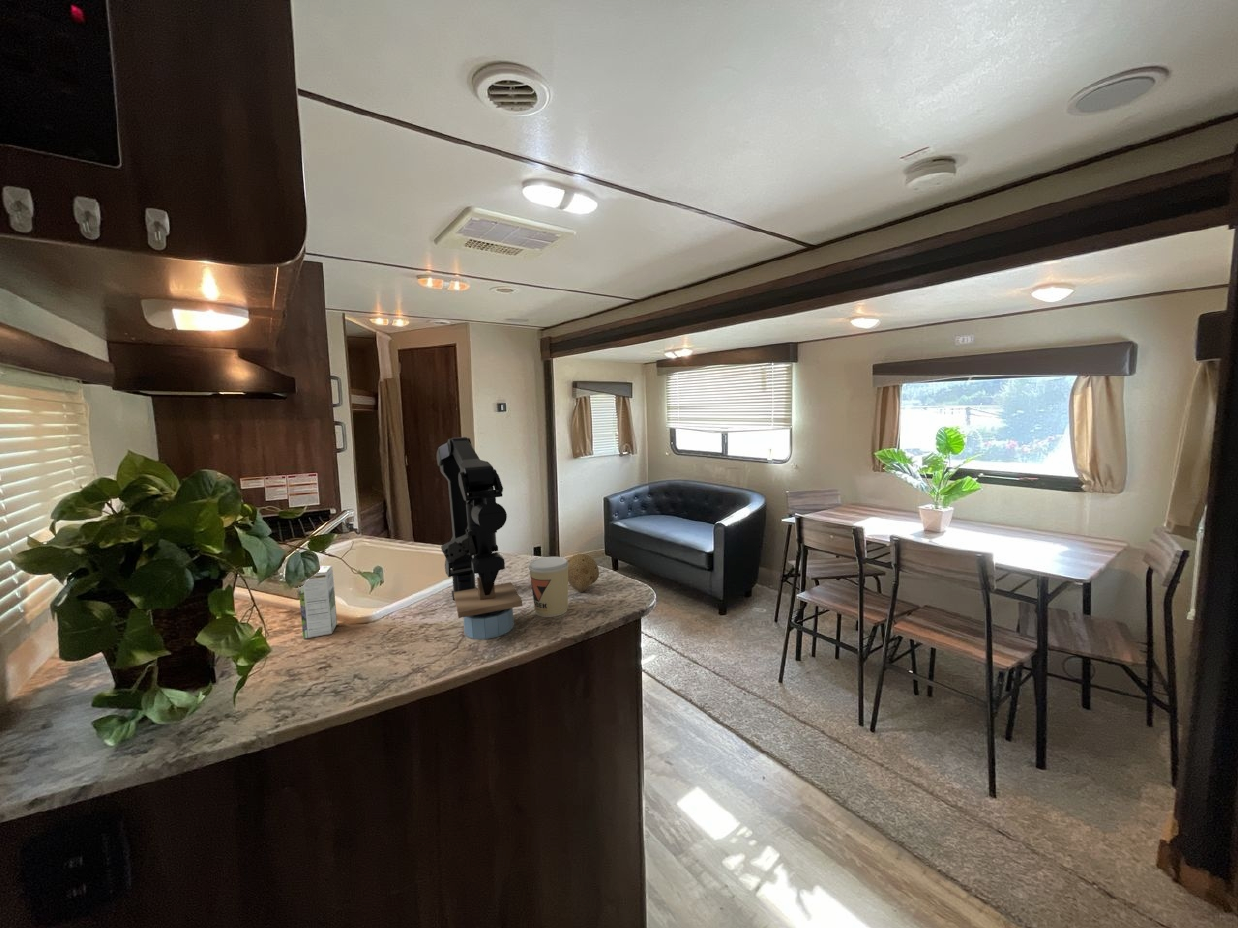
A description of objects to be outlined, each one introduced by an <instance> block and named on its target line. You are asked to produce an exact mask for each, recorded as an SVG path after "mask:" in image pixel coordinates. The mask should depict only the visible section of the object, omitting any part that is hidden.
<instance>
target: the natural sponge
mask: <svg viewBox="0 0 1238 928" xmlns="http://www.w3.org/2000/svg"><path fill="white" fill-rule="evenodd" d="M567 562H568V564H569V565H568V585H570V586H571V587H572V588H573V589H574V590H575V591H577V592H580V593H583V592H584V591H586V590H587V589H588V588H589V587H590V586H591V585H592V584H594V583H595V582H596V581H597V580H598V579H599V576H600V569H599V566H598V564H597V562H596V560H595V559H594V558H593V557H591V556H590V555H588V554H585V553H577V554H575V555H573V556H571V557H570V558H569V559H568V560H567Z"/></svg>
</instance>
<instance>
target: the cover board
mask: <svg viewBox="0 0 1238 928" xmlns="http://www.w3.org/2000/svg"><path fill="white" fill-rule="evenodd" d="M476 580H477V582H476V583H477V587H476V588H475V589H469V590H463V591H457V592H454V598H455V600H454V602H455V607H456V612H457V617H458V619H461V618H462V619H463V617H467V616H472V615H478V614H483V613H488V612H493V611H499V610H504V609H509V608H513V609H514V608H518V607H523V600H522V598H521V596H520V595H519V593H518V591H517V590H516V588H515V586H514V585H513V583H512V582H511V581H510V582H506V583H498V584H494V585H493V588H492V591H491V593H490V595H485V594H484V590H483V586H482V583H481V579H480V577H479V576H478V577H477V578H476Z"/></svg>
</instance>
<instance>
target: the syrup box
mask: <svg viewBox="0 0 1238 928" xmlns="http://www.w3.org/2000/svg"><path fill="white" fill-rule="evenodd" d="M319 566H320V570H319V572H318V573H317V574H316V575H314V576H313V577H312V578H310V579H309V580H308V581H307V582H306V583H305V584H304V585H303V586H301V587H299V586H298V597H299V606H300V607H299V608H300V609H299V610H300V617H301V619H300V620H301V629H302V639H311V638H317V637H323V636H328V635H333V633H334V631H335V628H336V627H337V625H338V617H337V606H336V595H335V594H336V593H335V583H334V571H333V570H334V569H333V565H319Z"/></svg>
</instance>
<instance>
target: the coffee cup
mask: <svg viewBox="0 0 1238 928" xmlns="http://www.w3.org/2000/svg"><path fill="white" fill-rule="evenodd" d="M567 561H568V560H567V558H564V557H563V556H562V557H561V556H545V557H539V558H535V559H533V560H531V561H530V563H529V565H528V570H529V576H530V577H529V578H530V584H531V592H532V598H533V606H534V612H535V614H536V615H537V616H539V617H543V618H552V617H553V618H554V617H558V616H562V615H564V614H565V613H566V612H567V611H568V603H569V601H568V599H569V597H568V596H569V595H568V594H569V582H568V565H569V564H568V562H567Z"/></svg>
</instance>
